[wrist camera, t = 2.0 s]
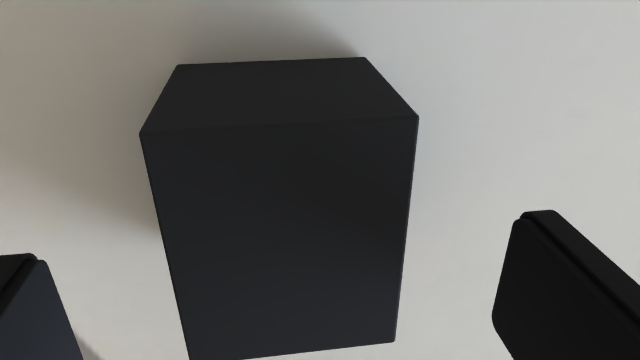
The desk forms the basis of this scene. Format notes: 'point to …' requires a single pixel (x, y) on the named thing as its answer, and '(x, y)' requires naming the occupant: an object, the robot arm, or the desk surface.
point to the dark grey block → (282, 203)
